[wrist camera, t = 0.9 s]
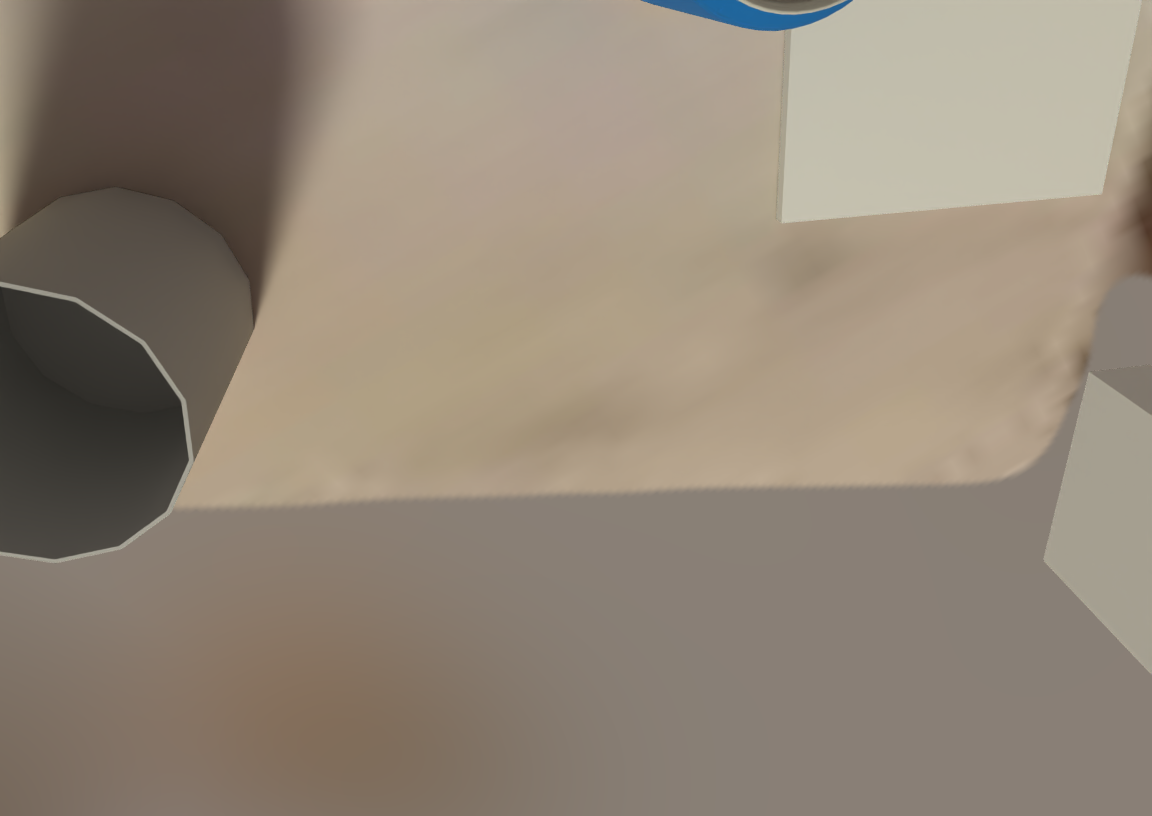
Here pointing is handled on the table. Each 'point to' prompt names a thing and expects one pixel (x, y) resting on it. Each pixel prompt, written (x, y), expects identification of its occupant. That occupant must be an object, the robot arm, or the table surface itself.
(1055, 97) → the flat white box
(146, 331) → the cup
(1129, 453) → the robot arm
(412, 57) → the table surface
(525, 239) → the table surface
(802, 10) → the beverage can
